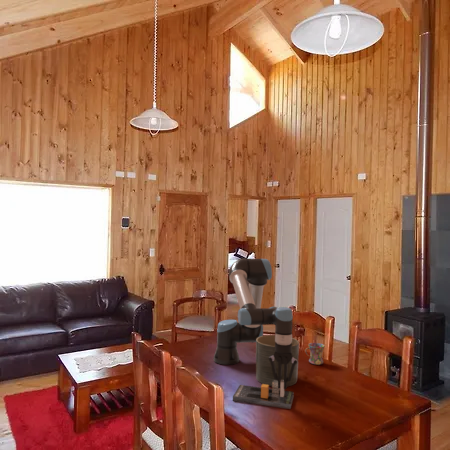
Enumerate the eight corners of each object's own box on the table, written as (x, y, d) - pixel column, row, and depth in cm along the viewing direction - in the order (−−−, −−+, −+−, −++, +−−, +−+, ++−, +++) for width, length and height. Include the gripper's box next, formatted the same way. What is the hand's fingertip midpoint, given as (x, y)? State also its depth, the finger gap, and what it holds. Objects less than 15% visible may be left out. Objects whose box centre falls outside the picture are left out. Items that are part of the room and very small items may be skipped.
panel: (232, 400, 179) (233, 385, 179) (239, 388, 192) (240, 374, 192) (290, 409, 172) (290, 393, 172) (293, 396, 185) (293, 381, 185)
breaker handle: (260, 397, 177) (261, 386, 177) (262, 395, 180) (262, 384, 180) (267, 398, 176) (267, 387, 176) (268, 395, 179) (268, 384, 179)
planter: (302, 376, 211) (303, 338, 211) (291, 391, 191) (292, 349, 191) (263, 368, 221) (264, 332, 221) (249, 382, 200) (249, 342, 201)
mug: (318, 359, 238) (319, 342, 238) (327, 365, 229) (327, 346, 230) (301, 361, 234) (301, 343, 235) (309, 366, 226) (309, 348, 226)
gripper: (267, 343, 175) (266, 397, 174) (297, 346, 171) (296, 401, 171) (270, 339, 182) (269, 390, 182) (298, 342, 178) (297, 394, 178)
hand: (282, 395), depth 176 cm, fingers closed
